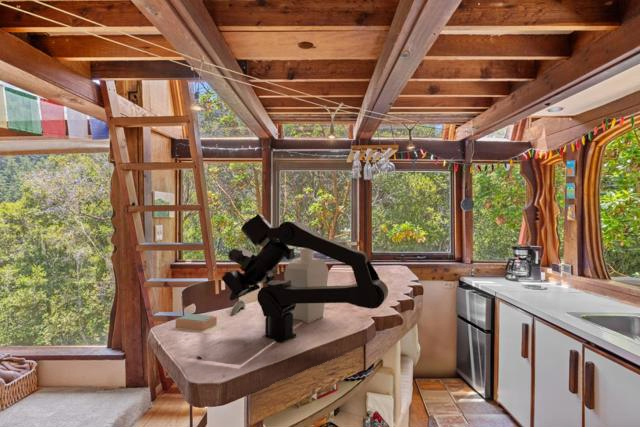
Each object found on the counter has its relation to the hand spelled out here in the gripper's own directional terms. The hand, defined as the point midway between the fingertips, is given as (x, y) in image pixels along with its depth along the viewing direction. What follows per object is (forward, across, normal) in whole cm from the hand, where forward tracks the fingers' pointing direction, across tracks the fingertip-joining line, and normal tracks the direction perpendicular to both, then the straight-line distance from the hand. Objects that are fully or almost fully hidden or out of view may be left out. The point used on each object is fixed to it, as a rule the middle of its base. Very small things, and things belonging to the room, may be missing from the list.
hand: (230, 299), depth 100 cm
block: (+9, 0, 0) cm, 9 cm away
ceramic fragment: (+13, -19, 0) cm, 23 cm away
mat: (+13, 0, -1) cm, 13 cm away
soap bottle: (-3, -20, +16) cm, 26 cm away
